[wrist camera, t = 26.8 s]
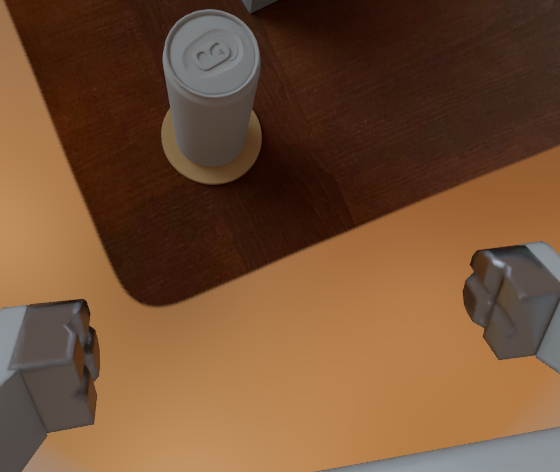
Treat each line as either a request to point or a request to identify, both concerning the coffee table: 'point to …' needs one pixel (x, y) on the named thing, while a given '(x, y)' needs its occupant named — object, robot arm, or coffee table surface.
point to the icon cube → (256, 4)
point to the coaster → (215, 173)
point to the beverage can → (211, 84)
